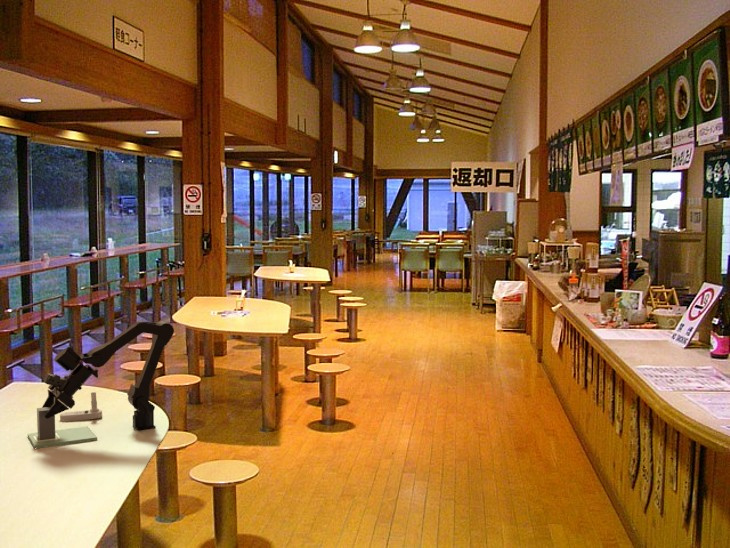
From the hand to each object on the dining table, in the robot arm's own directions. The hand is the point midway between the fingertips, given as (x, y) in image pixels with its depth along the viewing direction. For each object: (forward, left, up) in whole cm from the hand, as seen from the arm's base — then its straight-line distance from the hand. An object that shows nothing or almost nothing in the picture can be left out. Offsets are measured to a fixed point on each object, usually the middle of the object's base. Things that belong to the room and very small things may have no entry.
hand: (43, 414), depth 269 cm
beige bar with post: (-19, -22, -9) cm, 31 cm away
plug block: (-1, 0, -8) cm, 8 cm away
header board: (-6, 0, -9) cm, 11 cm away
